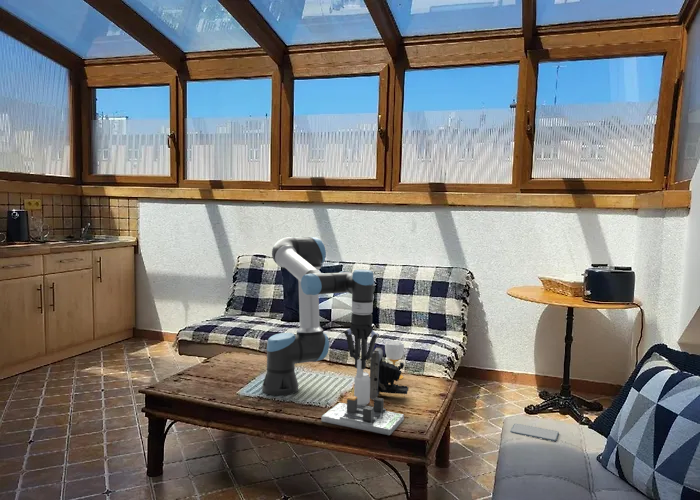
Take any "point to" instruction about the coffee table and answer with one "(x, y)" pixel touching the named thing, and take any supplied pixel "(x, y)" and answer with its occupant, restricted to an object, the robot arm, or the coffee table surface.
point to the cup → (394, 351)
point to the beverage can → (362, 389)
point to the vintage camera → (384, 376)
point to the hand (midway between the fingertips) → (359, 377)
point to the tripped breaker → (352, 404)
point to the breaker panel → (361, 426)
